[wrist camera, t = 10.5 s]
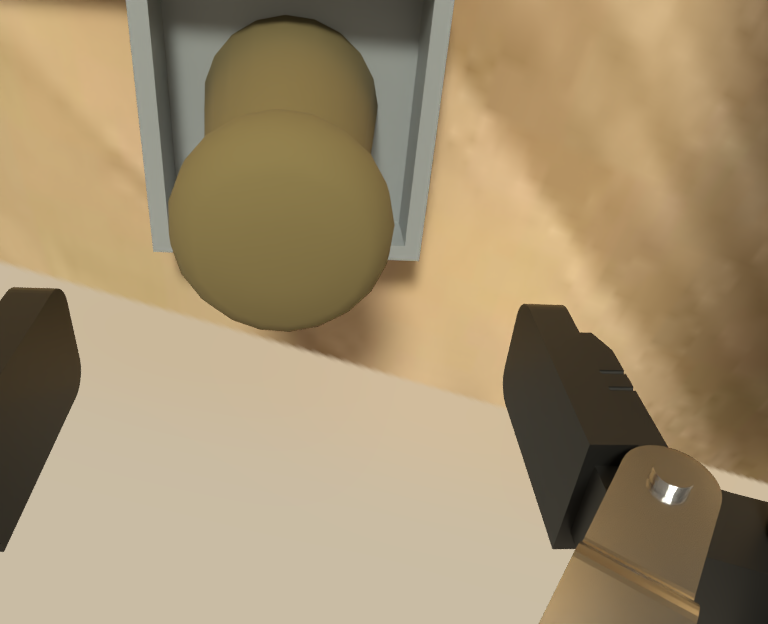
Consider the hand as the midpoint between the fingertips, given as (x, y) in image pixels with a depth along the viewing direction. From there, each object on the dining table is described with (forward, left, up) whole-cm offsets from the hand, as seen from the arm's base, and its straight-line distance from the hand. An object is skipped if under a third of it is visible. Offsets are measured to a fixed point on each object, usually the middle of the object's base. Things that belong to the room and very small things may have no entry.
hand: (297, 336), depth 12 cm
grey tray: (0, 0, -14) cm, 14 cm away
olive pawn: (0, 0, -14) cm, 14 cm away
